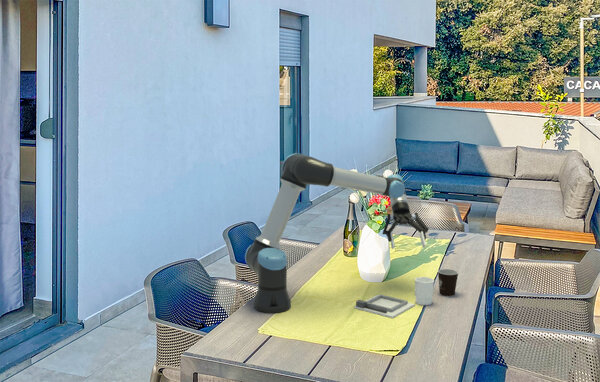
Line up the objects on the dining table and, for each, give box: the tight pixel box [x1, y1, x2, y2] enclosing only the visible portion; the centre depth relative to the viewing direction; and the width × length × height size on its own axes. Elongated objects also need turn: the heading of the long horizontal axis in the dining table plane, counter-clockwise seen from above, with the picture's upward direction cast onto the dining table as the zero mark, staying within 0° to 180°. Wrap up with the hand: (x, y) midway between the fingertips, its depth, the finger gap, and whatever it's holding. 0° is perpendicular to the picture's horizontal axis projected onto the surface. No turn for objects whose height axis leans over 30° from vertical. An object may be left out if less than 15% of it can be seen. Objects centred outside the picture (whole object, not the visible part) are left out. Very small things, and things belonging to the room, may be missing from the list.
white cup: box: [414, 276, 435, 306], centre depth 263 cm, size 8×8×10 cm
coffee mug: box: [437, 268, 459, 297], centre depth 276 cm, size 12×9×10 cm
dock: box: [353, 294, 416, 319], centre depth 258 cm, size 18×18×3 cm
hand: (408, 246), depth 270 cm, fingers open, 13 cm apart
